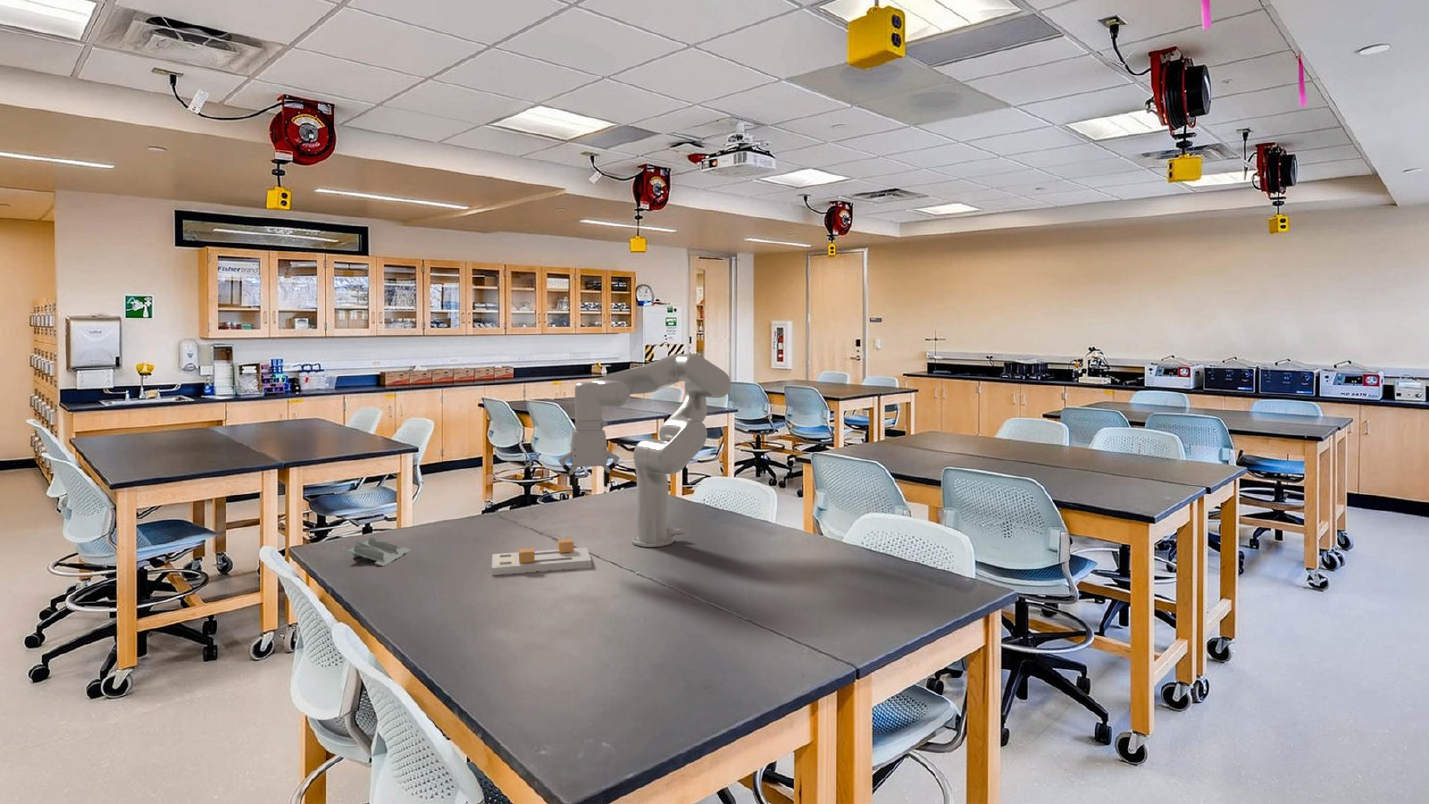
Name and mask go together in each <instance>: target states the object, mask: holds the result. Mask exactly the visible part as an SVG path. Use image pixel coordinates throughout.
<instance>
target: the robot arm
mask: <svg viewBox="0 0 1429 804" xmlns="http://www.w3.org/2000/svg"><path fill="white" fill-rule="evenodd" d="M680 382H684V401H683V403H682V404H681V405H680V406H679V408H678V409H676V410H675V411H674V412H673V413H672V415H670V416H669V418H667V419H666V420H665V422H663V424H662V425H661V427H660V428H659V431H658V432H659V434H658V436H659V439H657V438H646V439H642V440H641V441H639V442H638V443H637V444H636V445H635V448H634V450H633V462H634V467H635V468H634V469H635V474H636V509H637V510H636V512H637V513H636V516H637V517H636V519H637V520H636V523H637V524H636V525H637V526H636V527H637V529H636V530H637V532H636V533H637V534H636V535H634V536H633V537H632V538H631V539H632V544H633V545H636V546H639V547H643V548H644V547H645V548H659V547H660V548H661V547H665V545H666V546H670V545H671V544H673V543H674V542H675V541H674V539H675V538H674V536H684V535H685V529H684V528H679V527H674V528H672V527H671V526H670V524H669V523H670V522H669V480H668V476H667V475H675V474H677V473H680V472H681V471H682V470H683V469H684V468H686V466H687V465H688V464H689V463H690V462H691V461H692V460H693V459H694V457H695V456H696V455H697V454H698V453H699V452H700V451H702V449H703V447H704V446H705V443H706V441H707V437H708V429H707V427H706V425H705V424H704V423H703V422H704V421H705V419H706V416H707V414H708V413H707V411H708V410H707V409H708V408H707V407H708V405H707V398H713V399H721V398H723V397H726V396H727V395H728V393H730V391H731V389H732V382H731V378H730V376H729V375H728V373H727V372H725V370H723V369H721V368H720V367H719V366H717V365H715V364H714V363H712V362H710V361H709V360H707V359H706V358H704V357H703V356H700V355H698V354H696V353H675V354H671V355H668V356H665V357H662V358H661V359H656V360H655V361H652V362H649V363H646V364H644V365H639V366H635V367H632V368H629V369H623V370H620V371H616V372H613V373H609V374H607V375H605V376H601V377H599V378H597V379H594V380H593V381H582V382H577V383H576V384H575V387H574V415H575V416H574V417H575V420H574V426H575V427H574V429H575V430H572V432H571V439H570V440H571V441H570V451H569V452H568V453H566V454H565V455H563V456H561V457H560V458H558V462H559V464H560V465H561V467H562V468H563V470H564V471H566V472H567V474H568V476H569V478H568V479H569V486H571V488H572V489H573V490H575V489H576V474H575V471H577V468H584V467H585V468H590V467H602V468H603V469H604V470H603V471H604V472H603V486H604V487H605V488H608V484H610V482H611V481H610V478H611V477H610V473H611V472H612V470H614V468H616V466H617V464H618V462H619V461H620V457H619V455H616V454H615V453H613V452H611V451H610V450H608V444H607V435H606V431H605V429H604V427H608V421H605V420H603V408H604V407H610V408H620V407H623V406H625V405H626V404H627V403H629V400H630V399H631V395H640V394H641V395H643V394H650V393H654V392H657V391H659V390H662V389H665V388H668V387H669V386H672V385H675V384H677V383H680ZM608 458H611V459H612V462H611V463H610V464H609V465H607V464H608V462H609V461H608V460H609V459H608ZM569 459H570V463H571V466H569V465H567V463H566V461H568V460H569Z"/></svg>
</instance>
